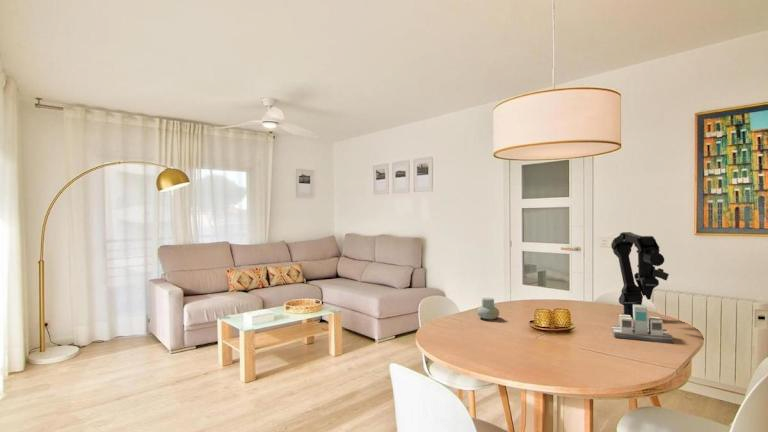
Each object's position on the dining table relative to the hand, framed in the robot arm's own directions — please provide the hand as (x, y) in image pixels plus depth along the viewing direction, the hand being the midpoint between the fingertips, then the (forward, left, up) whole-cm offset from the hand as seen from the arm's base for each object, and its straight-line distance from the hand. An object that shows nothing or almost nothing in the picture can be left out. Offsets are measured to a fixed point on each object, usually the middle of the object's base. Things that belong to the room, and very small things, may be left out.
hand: (646, 297), depth 182 cm
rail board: (+18, -6, -13) cm, 23 cm away
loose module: (+18, -6, -11) cm, 22 cm away
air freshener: (+8, -70, -13) cm, 72 cm away
